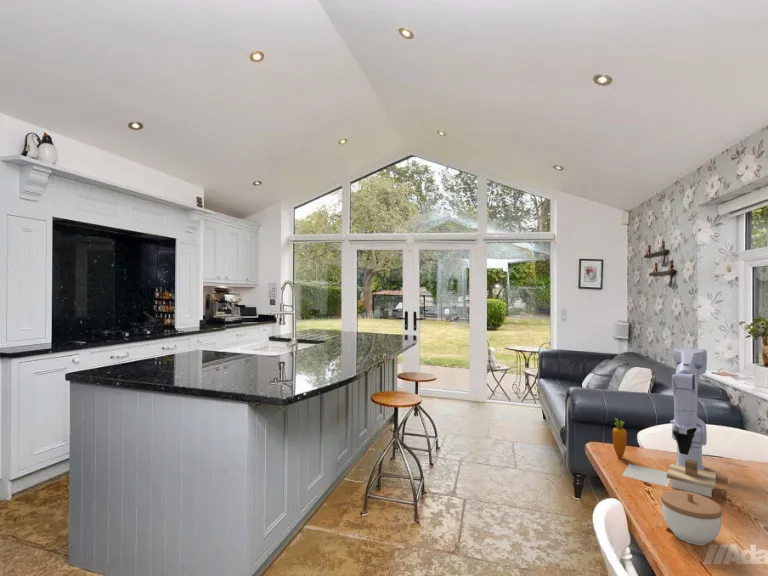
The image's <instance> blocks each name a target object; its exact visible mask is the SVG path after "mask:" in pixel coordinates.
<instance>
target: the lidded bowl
mask: <svg viewBox="0 0 768 576" xmlns="http://www.w3.org/2000/svg"><path fill="white" fill-rule="evenodd" d="M660 500H661V501H660V502H661V511H662V516H663V519H664V521H665V523H666V525H667V527H668V528H669V529H670V530H671V531H672V532H673V534H674V536H675V537H676V538H678V539H679V540H681V541H683V540H684V541H683V542H685V541H686V542H685V543H687V542H688V544H690V543H691V545H694V544H695V546H706V545H705V544H707V543H708V542H709V543H711V542H713V541H715V539H716V538H717V537H718V536H719V534H720V531H721V528H722V520H723V519H722V515H723V509H722V507H721V506H720V504H718V503H717V502H716V501H714V500H713V499H711V498H710V497H708V496H704V495H700V494H696V493H692V492H688V491H684V490H680V489H677V490H675V489H671V490H665V491H662V493H660ZM709 543H708V544H709ZM708 544H707V545H708Z"/></svg>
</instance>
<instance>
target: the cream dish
mask: <svg viewBox="0 0 768 576" xmlns="http://www.w3.org/2000/svg"><path fill="white" fill-rule="evenodd" d="M671 488H672V489H677V490H680V491H686V492H691V493H695V494H698V495H701V496H704V497H707V498H712V496H713V495H712V494H713V490H714V489H712V488H708V487H703V486H699V485H695V484H691V483H686V482H682V481H678V480H674V479H671Z"/></svg>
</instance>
